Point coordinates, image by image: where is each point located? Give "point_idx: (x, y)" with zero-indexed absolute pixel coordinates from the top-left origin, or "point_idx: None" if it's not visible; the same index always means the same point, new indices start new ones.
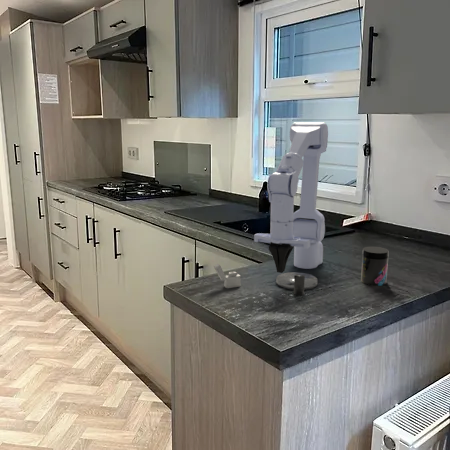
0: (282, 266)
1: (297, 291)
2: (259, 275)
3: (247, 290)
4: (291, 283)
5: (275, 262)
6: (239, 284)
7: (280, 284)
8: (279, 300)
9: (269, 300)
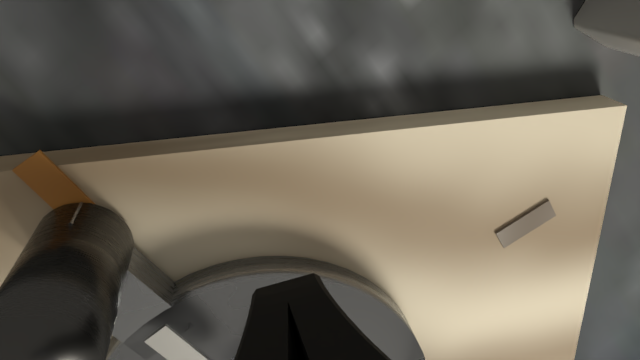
0: (243, 351)
1: (54, 224)
2: (592, 353)
3: (530, 78)
4: (228, 322)
5: (354, 340)
6: (621, 21)
7: (318, 269)
8: (186, 82)
9: (251, 19)
